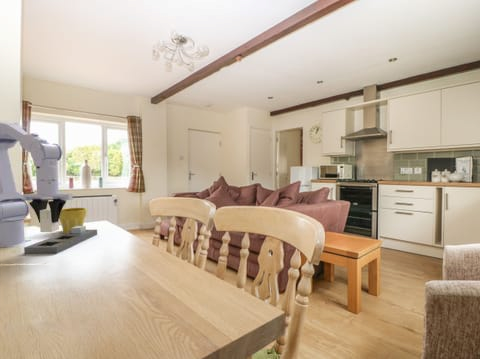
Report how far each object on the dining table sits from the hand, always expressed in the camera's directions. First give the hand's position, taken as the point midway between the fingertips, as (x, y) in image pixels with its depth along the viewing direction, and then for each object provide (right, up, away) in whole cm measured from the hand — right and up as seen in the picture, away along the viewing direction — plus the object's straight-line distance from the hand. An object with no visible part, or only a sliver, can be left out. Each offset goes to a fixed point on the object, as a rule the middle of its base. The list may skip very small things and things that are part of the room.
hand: (48, 222), depth 85 cm
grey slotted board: (0, -9, +8) cm, 12 cm away
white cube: (0, -9, +16) cm, 18 cm away
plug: (0, -3, 0) cm, 3 cm away
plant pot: (-10, -9, +27) cm, 30 cm away
